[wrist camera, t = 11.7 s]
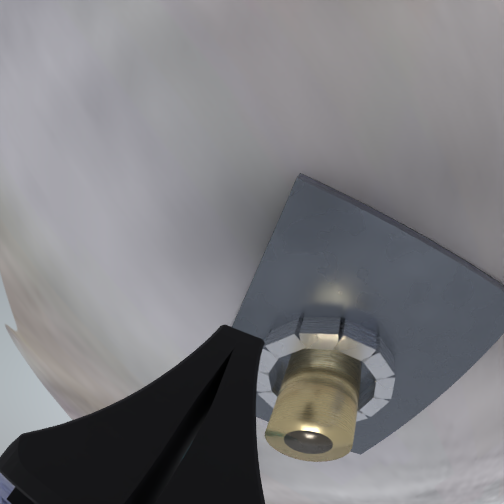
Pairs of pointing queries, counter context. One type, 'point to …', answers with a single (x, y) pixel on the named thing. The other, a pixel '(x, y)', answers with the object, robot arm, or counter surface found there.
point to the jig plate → (367, 307)
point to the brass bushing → (316, 406)
